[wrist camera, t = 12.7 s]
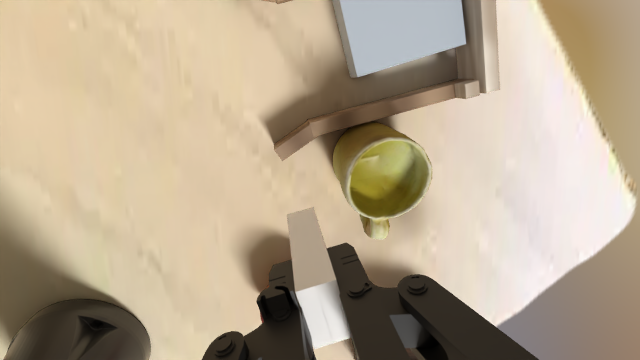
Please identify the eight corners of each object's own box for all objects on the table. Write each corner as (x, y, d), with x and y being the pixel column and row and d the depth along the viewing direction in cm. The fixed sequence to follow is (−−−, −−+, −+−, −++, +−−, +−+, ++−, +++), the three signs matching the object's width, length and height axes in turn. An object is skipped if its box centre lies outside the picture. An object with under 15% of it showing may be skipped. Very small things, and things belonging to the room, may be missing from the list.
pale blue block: (349, 77, 35) (357, 77, 32) (331, 0, 33) (337, -9, 29) (448, 47, 36) (466, 43, 33) (438, -32, 33) (456, -44, 30)
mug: (330, 101, 34) (379, 140, 26) (401, 115, 39) (460, 152, 31) (300, 195, 39) (334, 251, 31) (366, 197, 44) (409, 246, 36)
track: (277, 155, 37) (278, 167, 32) (224, -21, 30) (215, -39, 26) (472, 102, 38) (500, 105, 33) (458, -78, 32) (491, -104, 27)
